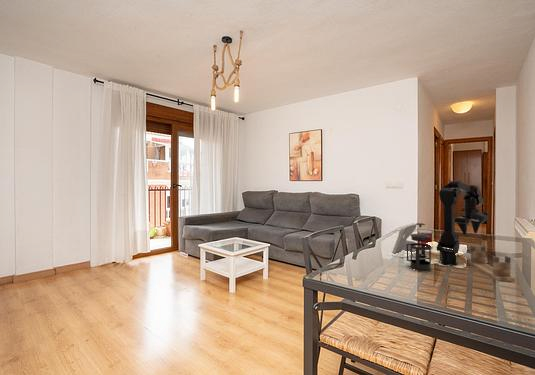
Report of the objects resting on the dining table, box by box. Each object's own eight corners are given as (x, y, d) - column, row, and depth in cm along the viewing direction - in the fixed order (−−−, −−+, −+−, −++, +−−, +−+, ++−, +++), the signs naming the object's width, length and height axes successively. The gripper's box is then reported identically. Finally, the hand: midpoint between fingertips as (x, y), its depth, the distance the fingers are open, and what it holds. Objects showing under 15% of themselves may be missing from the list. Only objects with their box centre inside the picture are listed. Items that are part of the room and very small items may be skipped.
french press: (435, 268, 140) (435, 223, 139) (429, 273, 133) (429, 226, 132) (410, 263, 148) (410, 220, 147) (403, 268, 141) (403, 223, 140)
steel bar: (483, 263, 145) (483, 258, 145) (444, 253, 166) (444, 248, 166) (486, 263, 146) (487, 258, 146) (447, 252, 167) (447, 248, 167)
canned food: (434, 249, 172) (434, 232, 172) (421, 250, 172) (421, 232, 172) (427, 246, 180) (427, 229, 179) (415, 247, 180) (415, 230, 180)
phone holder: (400, 249, 176) (400, 221, 175) (417, 252, 168) (417, 223, 167) (386, 254, 165) (386, 224, 165) (403, 258, 157) (403, 227, 157)
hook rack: (498, 281, 121) (498, 258, 121) (467, 263, 145) (467, 244, 144) (514, 281, 120) (514, 259, 120) (481, 264, 144) (481, 245, 143)
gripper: (474, 209, 149) (474, 238, 150) (496, 207, 156) (496, 234, 156) (453, 207, 159) (453, 234, 160) (475, 205, 166) (475, 231, 167)
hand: (470, 233), depth 160 cm, fingers open, 9 cm apart
